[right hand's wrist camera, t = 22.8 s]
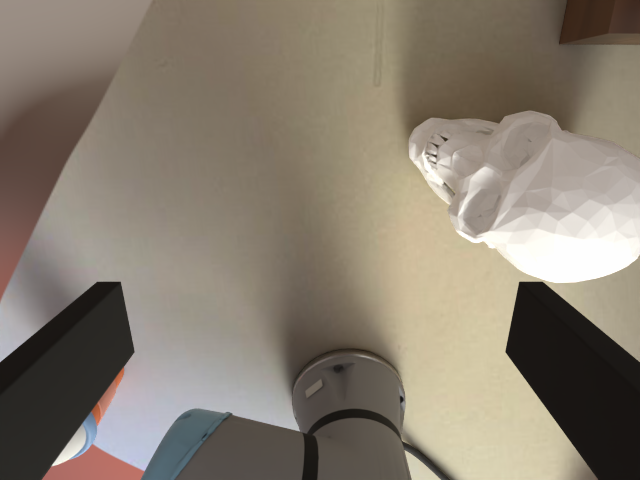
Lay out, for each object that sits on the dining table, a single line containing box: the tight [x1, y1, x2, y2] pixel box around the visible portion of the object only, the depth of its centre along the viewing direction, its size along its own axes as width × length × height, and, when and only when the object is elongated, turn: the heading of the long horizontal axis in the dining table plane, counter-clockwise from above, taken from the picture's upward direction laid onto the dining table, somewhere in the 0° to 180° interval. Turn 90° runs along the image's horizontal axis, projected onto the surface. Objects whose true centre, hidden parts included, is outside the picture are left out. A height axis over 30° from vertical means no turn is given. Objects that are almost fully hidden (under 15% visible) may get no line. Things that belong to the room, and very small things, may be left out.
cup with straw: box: [52, 367, 124, 466], centre depth 43 cm, size 9×9×18 cm
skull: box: [408, 110, 640, 283], centre depth 36 cm, size 13×22×16 cm, turn 68°
